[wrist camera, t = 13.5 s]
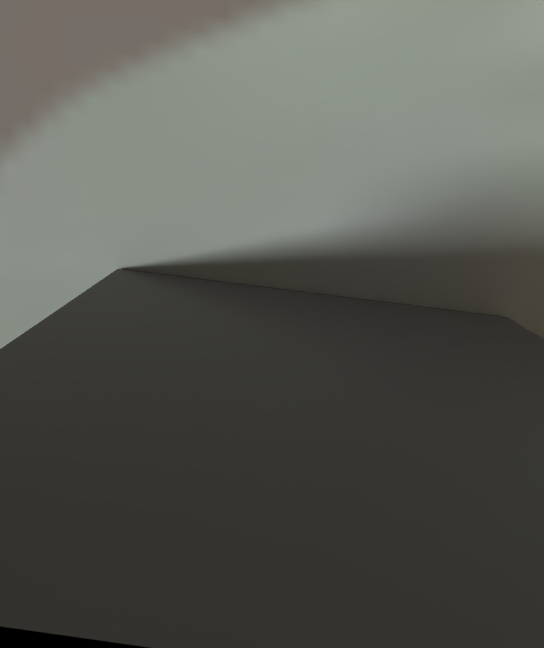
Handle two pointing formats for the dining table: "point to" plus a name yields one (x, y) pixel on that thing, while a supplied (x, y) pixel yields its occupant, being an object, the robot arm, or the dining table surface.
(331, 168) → the dining table surface
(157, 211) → the dining table surface
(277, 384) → the dark grey block
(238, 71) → the dining table surface
